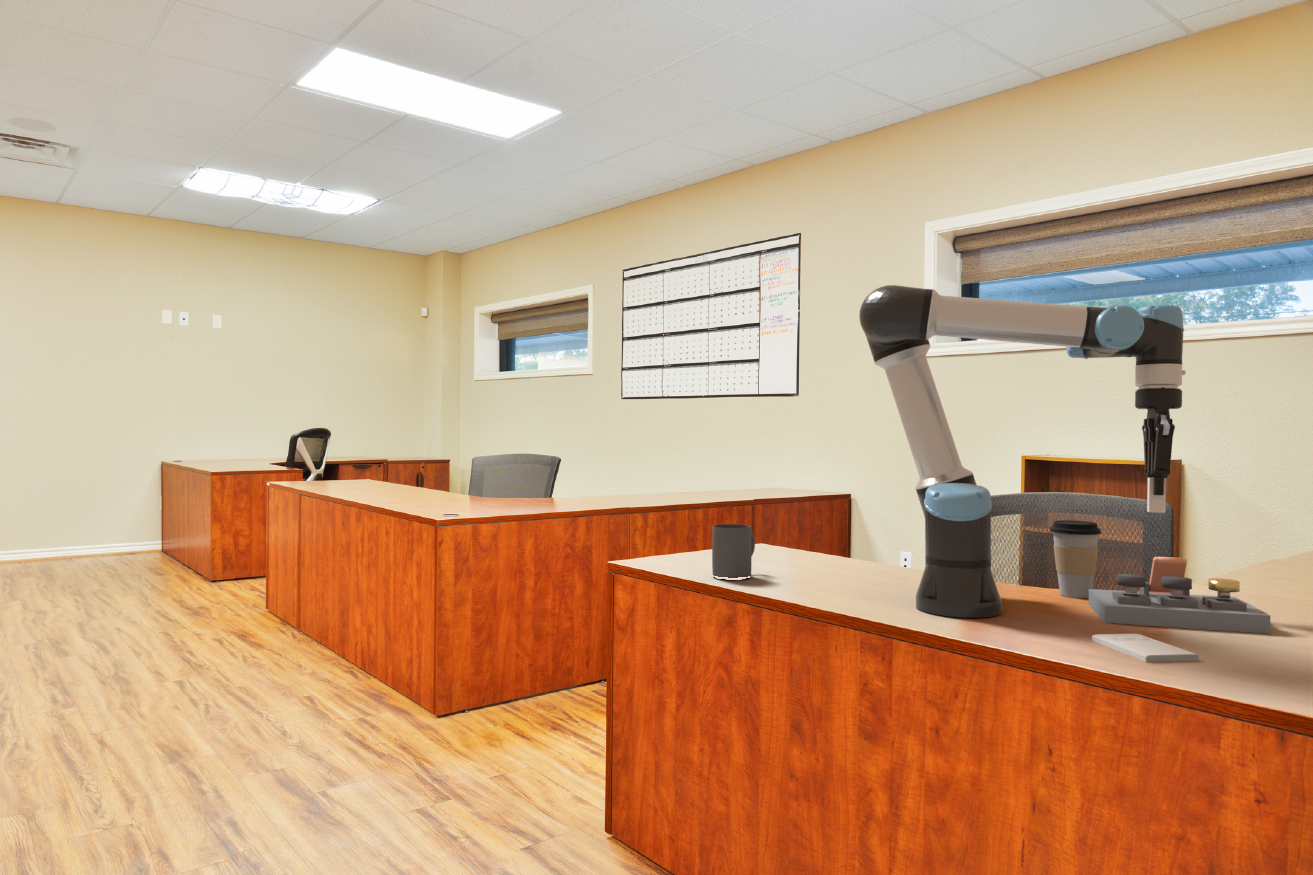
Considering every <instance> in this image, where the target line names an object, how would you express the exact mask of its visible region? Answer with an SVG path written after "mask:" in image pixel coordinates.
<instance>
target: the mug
mask: <svg viewBox="0 0 1313 875" xmlns="http://www.w3.org/2000/svg"><path fill="white" fill-rule="evenodd" d="M711 535H712V536H711V547H712V548H711V556H712V558H711V561H712V562H711V564H712V576H713V575H714V576H718V577H728V578H738V577H748V576H751V577H752V557H753V555H754V552H755V548H756V536H755V534H754V532H753V531H752V527H751V525H748V524H739V523H724V524H723V523H721V524H714V525H713V526H712V532H711Z"/></svg>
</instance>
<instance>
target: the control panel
mask: <svg viewBox="0 0 1313 875" xmlns="http://www.w3.org/2000/svg"><path fill="white" fill-rule="evenodd" d="M1190 590H1191V589H1190ZM1190 590H1183V596H1175V595H1171V593H1169V592H1151V591H1149V582H1148V581H1146V587H1139V591H1137V593H1127V592H1125V590H1114V589H1099V588H1098V589H1095V588H1093V589H1089V598H1088V605H1089V607H1090V608H1092V610H1093V611H1094V612H1095V613H1096V614H1097V615H1098V617H1099V618H1101V619H1102V621H1103V622H1104V623H1107V624H1118V625H1119V624H1121V625H1134V626H1151V627H1165V628H1177V629H1178V628H1181V629H1194V630H1195V629H1197V630H1209V631H1211V630H1212V631H1227V632H1237V633H1238V632H1239V633H1256V634H1268V635H1269V634H1271V615H1270V614H1269V613H1267V612H1264V611H1263V610H1261V609H1259V608H1258V607H1255V606H1253V605H1252V604H1249V603H1248V602H1246V601H1244V600H1243V599H1240V598H1239V597H1236V596H1230V598H1219V597H1218V595H1208V594H1192V593H1191V591H1190Z"/></svg>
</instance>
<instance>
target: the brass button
mask: <svg viewBox="0 0 1313 875" xmlns="http://www.w3.org/2000/svg"><path fill="white" fill-rule="evenodd" d="M1207 582H1208V584H1207V586H1208V590H1210V591H1215V592H1217V596H1218V597H1219V598H1230V597H1231V593H1239V592H1240V591H1241V587H1240V581H1239V580H1236V579H1230V578H1217V577H1216V578H1214V577H1213V578H1208V580H1207Z"/></svg>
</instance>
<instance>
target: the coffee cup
mask: <svg viewBox="0 0 1313 875" xmlns="http://www.w3.org/2000/svg"><path fill="white" fill-rule="evenodd" d="M1052 522H1053V523H1052V526H1050V527H1049V532H1051V533H1052V534H1053V543H1054V544H1053V552H1054V561H1055V568H1056V572H1057V579H1058V580H1057V582H1058V590H1059V595H1060V596H1063V597H1067V598H1072V599H1073V598H1074V599H1089V589H1094V588H1093V587H1094V580H1095V574H1096V569H1097V560H1098V550H1099V546H1098V543H1099V535H1101V534H1102V532H1101V528H1099V527H1098V523H1097V522H1094V521H1086V520H1073V519H1072V520H1070V519H1068V520H1066V519H1061V520H1053V521H1052Z"/></svg>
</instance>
